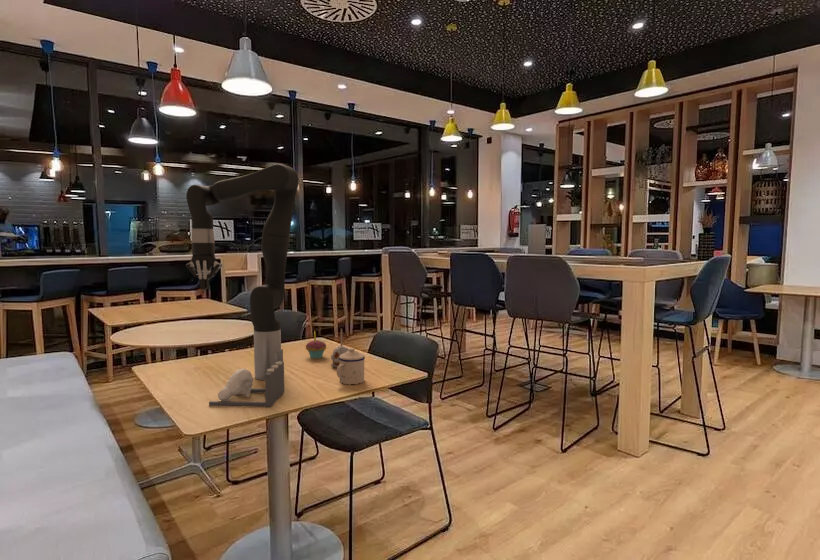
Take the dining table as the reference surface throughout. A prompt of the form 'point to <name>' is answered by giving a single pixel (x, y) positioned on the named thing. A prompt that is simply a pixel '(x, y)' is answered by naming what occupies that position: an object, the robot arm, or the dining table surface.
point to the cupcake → (316, 347)
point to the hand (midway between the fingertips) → (204, 289)
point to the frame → (263, 389)
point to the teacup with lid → (351, 367)
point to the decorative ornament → (338, 353)
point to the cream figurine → (237, 385)
